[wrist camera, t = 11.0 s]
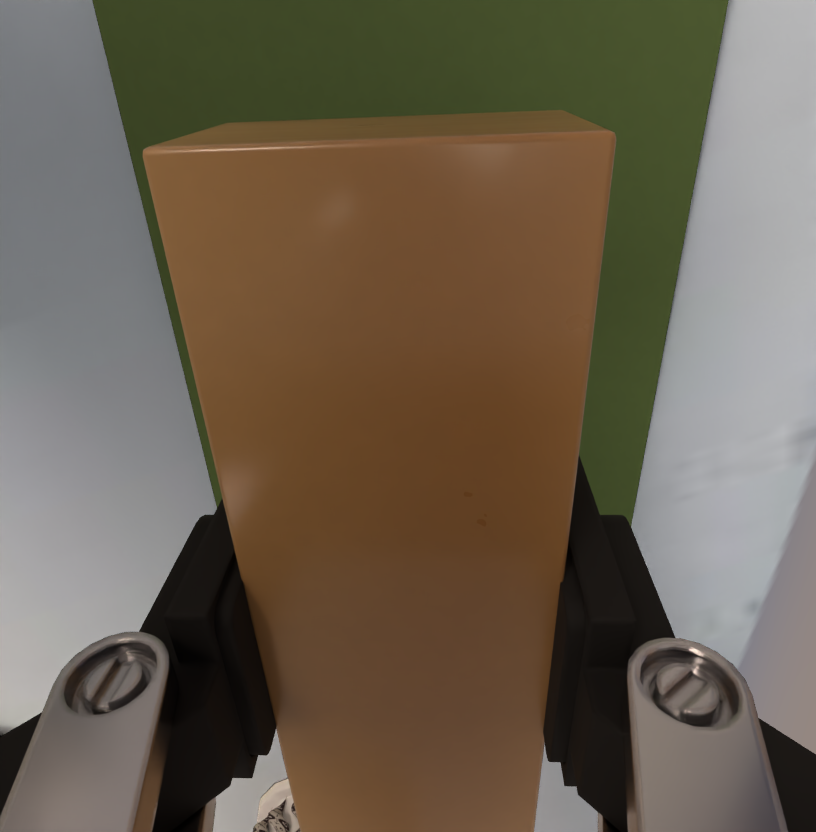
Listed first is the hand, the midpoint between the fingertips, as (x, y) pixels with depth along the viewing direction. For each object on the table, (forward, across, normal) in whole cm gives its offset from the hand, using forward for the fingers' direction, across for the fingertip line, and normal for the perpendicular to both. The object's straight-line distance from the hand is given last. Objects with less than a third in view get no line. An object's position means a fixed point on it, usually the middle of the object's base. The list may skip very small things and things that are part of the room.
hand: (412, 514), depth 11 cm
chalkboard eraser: (0, 0, 0) cm, 0 cm away
